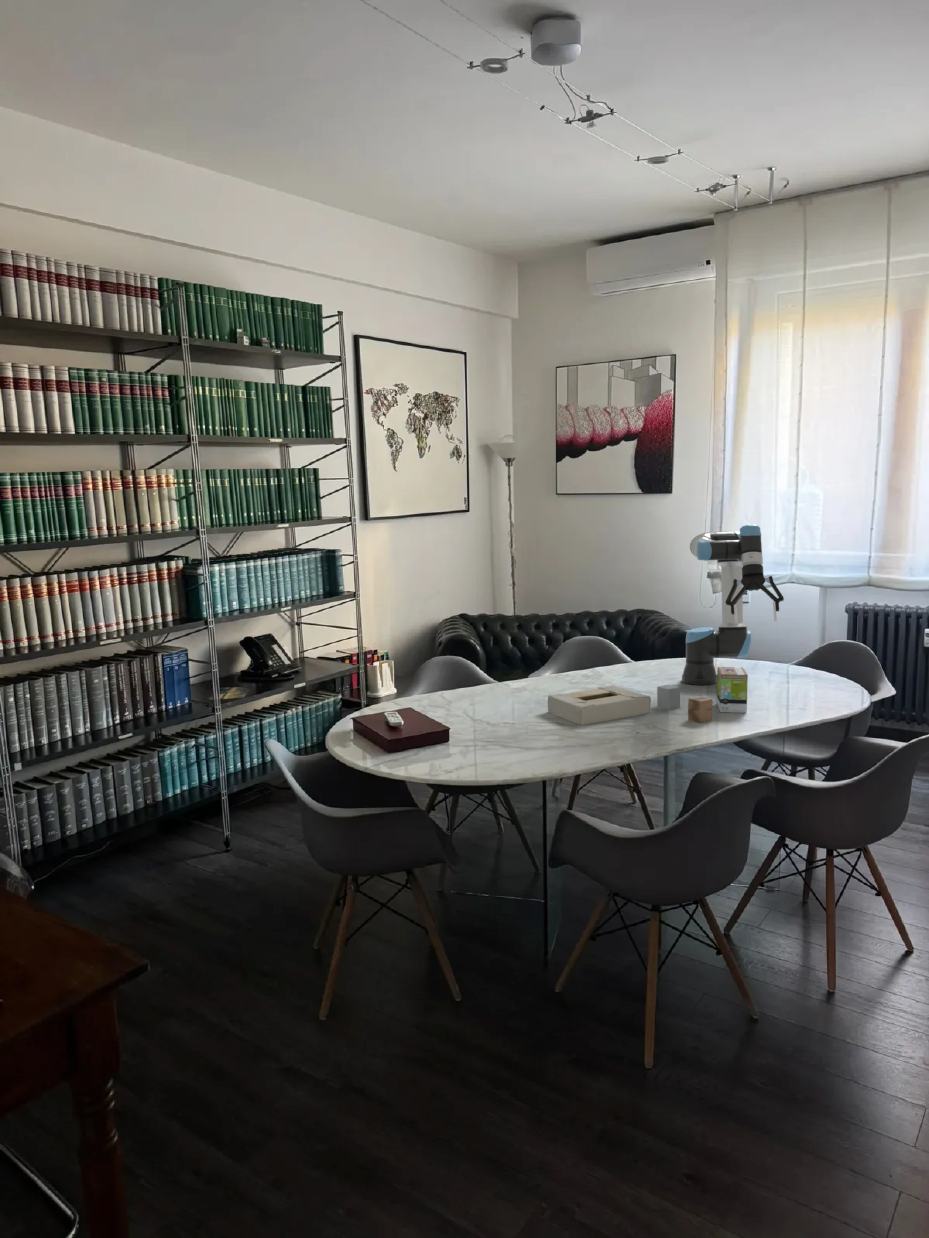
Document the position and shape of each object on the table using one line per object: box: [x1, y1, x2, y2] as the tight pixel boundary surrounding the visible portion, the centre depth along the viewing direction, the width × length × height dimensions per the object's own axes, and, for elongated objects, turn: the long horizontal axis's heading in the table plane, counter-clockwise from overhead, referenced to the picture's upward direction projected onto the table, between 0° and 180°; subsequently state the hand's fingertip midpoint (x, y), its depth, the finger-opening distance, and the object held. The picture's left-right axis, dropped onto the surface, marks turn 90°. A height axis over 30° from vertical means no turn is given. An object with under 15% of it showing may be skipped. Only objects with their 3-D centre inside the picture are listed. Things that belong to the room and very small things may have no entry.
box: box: [547, 684, 652, 726], centre depth 326 cm, size 23×8×32 cm
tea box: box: [716, 666, 749, 714], centre depth 324 cm, size 15×10×15 cm
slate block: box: [656, 684, 681, 710], centre depth 330 cm, size 6×6×8 cm
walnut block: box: [687, 695, 714, 724], centre depth 310 cm, size 6×6×8 cm
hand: (755, 621), depth 312 cm, fingers open, 13 cm apart
